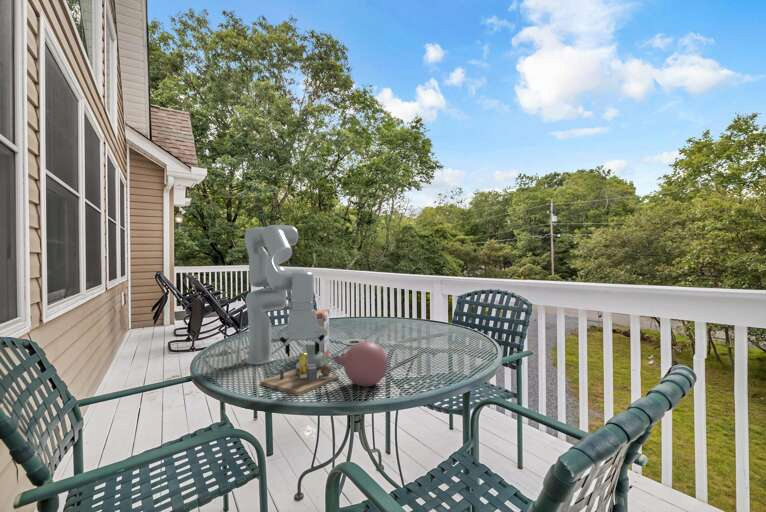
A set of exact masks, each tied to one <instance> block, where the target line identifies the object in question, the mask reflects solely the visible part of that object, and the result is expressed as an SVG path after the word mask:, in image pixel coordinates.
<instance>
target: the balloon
mask: <svg viewBox="0 0 766 512" xmlns="http://www.w3.org/2000/svg"><path fill="white" fill-rule="evenodd" d="M331 360H333V361H334V362H335V363H336V364H338V365H342V366H343V368H344V372H345V374H346V376H347V378H348V379H349V380H350V382H352V383H353V384H355V385H357V386H359V387H370V386H371V387H372V386H374V385H376V384H378V383H379V382H380V381H381V380H382V379H383V378H384V377H385V375H386V372H387V369H388V359H387V354H386V353H385V351H384V350H383V348H382V347H381V346H380V345H378V344H377V343H374V342H372V341H364V340H363V341H360V342H356V343H355V344H353V345H352V346H351V347H349V349H348V350H346V351H345V352H343V353H341V354H336V355H334V356H332V357H331Z"/></svg>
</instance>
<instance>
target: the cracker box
mask: <svg viewBox="0 0 766 512" xmlns="http://www.w3.org/2000/svg"><path fill="white" fill-rule="evenodd" d="M315 311H316V316H317V325H318V326H320V327H322V328H325V329H326V330H327V333H326V335H325V337H324V339H323V340H322V341H321V342H320V352H321V353H323V354H325V356H326V357H328V354H329V353H330V310H329V309H327V308H325V309H324V308H322V309H317V310H315ZM321 334H322V331H319V330H317V337H319V336H320V335H321ZM311 342H315V340H314V339H311Z"/></svg>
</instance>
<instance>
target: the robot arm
mask: <svg viewBox="0 0 766 512" xmlns="http://www.w3.org/2000/svg"><path fill="white" fill-rule="evenodd" d="M299 238H300V237H299V232H298V230H297V228H296V227H295V226H293V225H289V224H287V225H286V224H285V225H284V224H269V225H267V226H254V227H252V226H251V227H250V228H248V229H247V230H245V234H244V244H245V247H246V250H247V254H248V276H249V278H248V279H249V284H250V286H252V287H254V288H267V287H270V289H258V290H256V289H255V290H251V291H250V292H248V293H247V295H246V296H245V304H246V311H247V318H248V351H247V350H246V351H245V354H246V355H247V356H248V357H247V358H245V364H247V365H253V366H255V365H256V366H257V365H266V364H270V363H272V362H275V360H276V356H275V355H273V354H272V321H271V319H270V316H269V315H267V313H266V312H269V311H277V310H282V309H284V308H285V306H286V305H287V306H286V307H287V308H290V310H289V312H288V319H287V326H286V327H284V328H282V329H281V330H278V331H277V332H276V335H277V337H278V339H279V341H280V342H281V343H282V344H284V346H285V351H284V352H285V355H287V357H288V358H289V357H290V355H291V354H290V353H291V350H290V349H291V347H290V343H291V342H292V341H304V340H305V341H306V340H312V339H314V340H315V354H316V355H318V352H319V343H320V342H321V341H322V340H323V339H324V337H325V335H326V333H327V330H326V329H325V328H322V327H320V326H318V325H317V316H316V311H317V310H316V309H315V308H314V273H313V272H311V271H307V270H304V269H285V268H284V267H283V266H281V265H280V264H283V263H285V262H287V261H288V260H289V259H290V258H291V257H292V254H293V250H292V246H295V245H296V244H298V241H299ZM266 249H267V250H266ZM287 291H291V294H290V295H291V302H290V303H287ZM317 330H319V331H322V334H321V335H320V336H319V337H317ZM285 333H287V337H286V338H285V337H284V336H283V335H284V334H285Z"/></svg>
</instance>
